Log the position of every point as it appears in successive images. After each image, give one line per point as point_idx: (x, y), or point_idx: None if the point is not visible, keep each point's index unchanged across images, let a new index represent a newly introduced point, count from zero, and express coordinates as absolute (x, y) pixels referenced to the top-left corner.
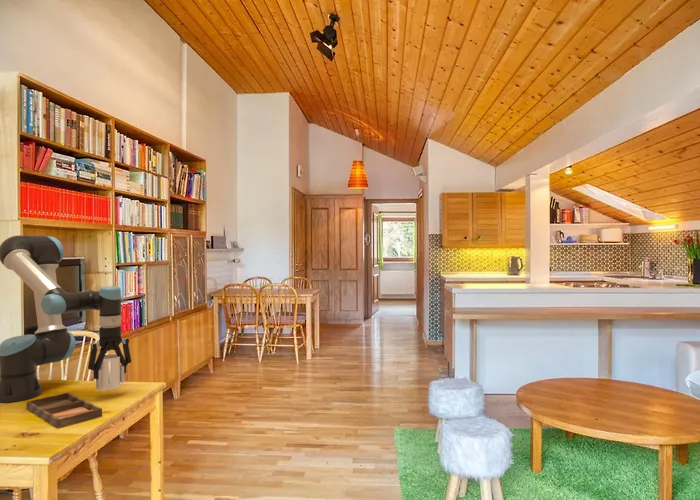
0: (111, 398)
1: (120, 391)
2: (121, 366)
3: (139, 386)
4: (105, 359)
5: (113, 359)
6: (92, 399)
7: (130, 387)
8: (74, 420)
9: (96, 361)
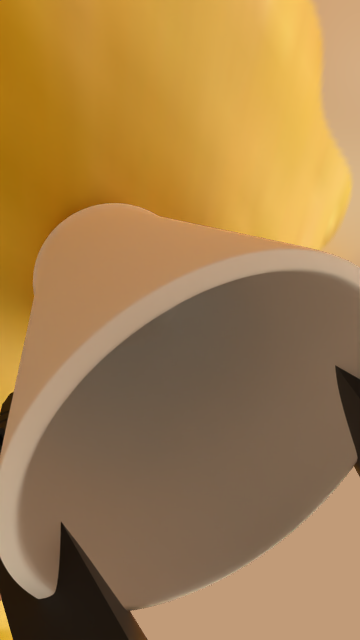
0: None
1: (180, 198)
2: None
3: (280, 157)
4: (163, 594)
5: (253, 536)
6: (17, 279)
7: (241, 140)
8: None
9: (6, 577)
